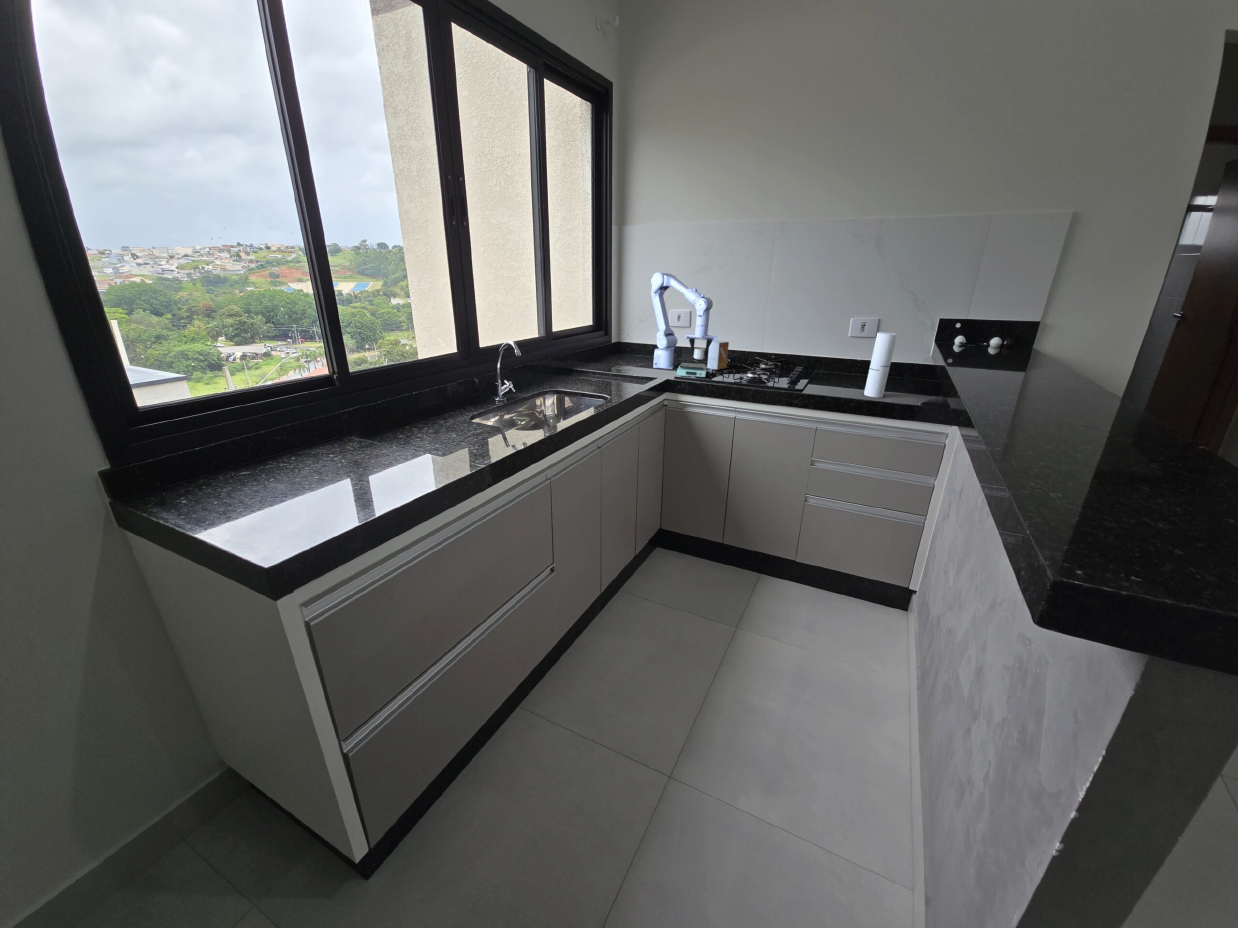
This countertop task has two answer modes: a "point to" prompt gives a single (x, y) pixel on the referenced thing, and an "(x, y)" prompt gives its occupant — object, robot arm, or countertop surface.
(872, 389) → the cylindrical container
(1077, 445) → the countertop surface
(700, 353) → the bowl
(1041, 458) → the countertop surface
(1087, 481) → the countertop surface
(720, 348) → the small box
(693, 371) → the scale
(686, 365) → the scale pan
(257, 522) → the countertop surface
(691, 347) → the robot arm
